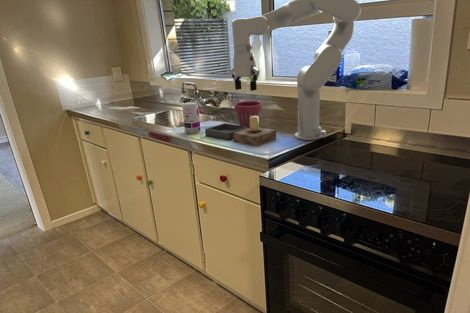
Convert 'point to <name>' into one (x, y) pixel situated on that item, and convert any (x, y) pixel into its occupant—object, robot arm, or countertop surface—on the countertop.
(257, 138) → the wooden block with hole
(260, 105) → the plant pot
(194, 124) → the supplement can
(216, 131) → the black tray
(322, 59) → the robot arm
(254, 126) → the brass pin
